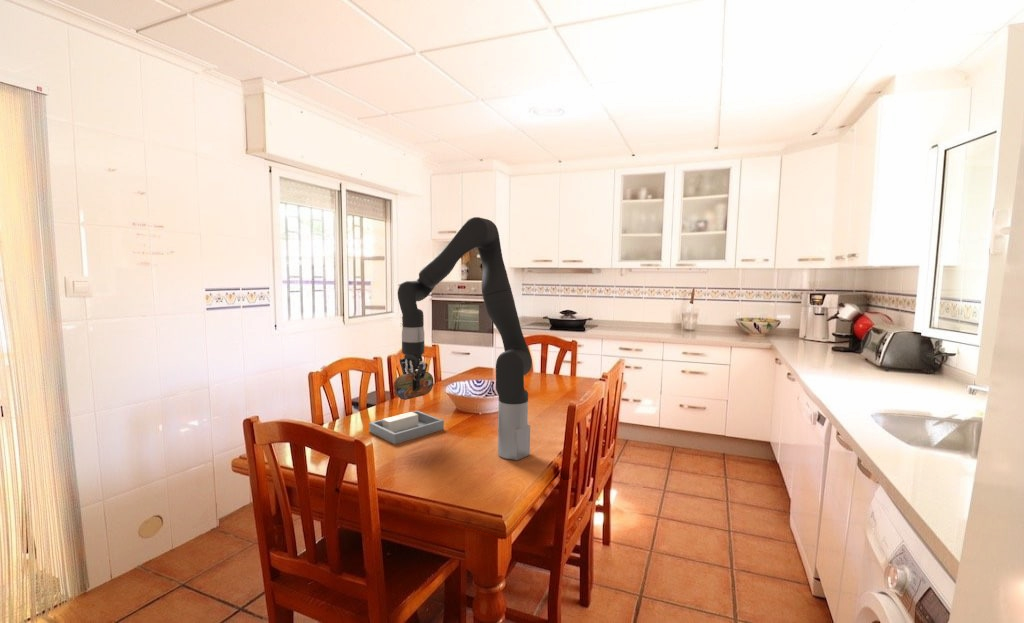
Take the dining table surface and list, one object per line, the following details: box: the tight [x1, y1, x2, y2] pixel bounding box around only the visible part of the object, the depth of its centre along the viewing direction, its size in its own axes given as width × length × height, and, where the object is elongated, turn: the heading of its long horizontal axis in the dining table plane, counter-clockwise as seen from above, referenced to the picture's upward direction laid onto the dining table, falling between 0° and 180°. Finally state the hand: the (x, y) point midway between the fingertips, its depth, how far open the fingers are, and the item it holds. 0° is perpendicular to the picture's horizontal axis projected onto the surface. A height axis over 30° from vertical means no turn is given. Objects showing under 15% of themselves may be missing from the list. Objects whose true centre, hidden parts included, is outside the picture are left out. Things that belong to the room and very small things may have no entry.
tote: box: [368, 410, 445, 445], centre depth 161 cm, size 16×20×4 cm
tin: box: [392, 371, 435, 401], centre depth 156 cm, size 15×3×8 cm, turn 136°
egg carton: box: [381, 411, 418, 432], centre depth 163 cm, size 4×12×4 cm, turn 136°
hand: (413, 389), depth 157 cm, fingers closed on tin, 2 cm apart
